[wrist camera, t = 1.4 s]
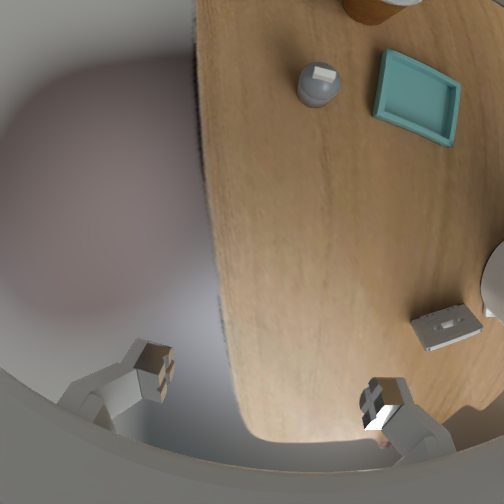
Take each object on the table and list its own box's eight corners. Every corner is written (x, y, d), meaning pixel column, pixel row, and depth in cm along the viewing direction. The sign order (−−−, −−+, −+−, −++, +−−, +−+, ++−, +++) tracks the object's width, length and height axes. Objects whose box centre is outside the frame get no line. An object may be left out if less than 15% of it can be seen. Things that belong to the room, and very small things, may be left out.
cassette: (465, 301, 38) (485, 324, 31) (463, 309, 39) (482, 333, 32) (410, 317, 41) (426, 346, 33) (410, 326, 41) (425, 354, 34)
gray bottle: (333, 81, 29) (351, 59, 20) (327, 111, 31) (344, 99, 21) (300, 73, 29) (305, 47, 20) (293, 103, 31) (297, 87, 22)
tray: (452, 86, 26) (461, 84, 24) (443, 146, 30) (452, 147, 28) (381, 52, 26) (387, 48, 24) (371, 116, 30) (377, 114, 28)
